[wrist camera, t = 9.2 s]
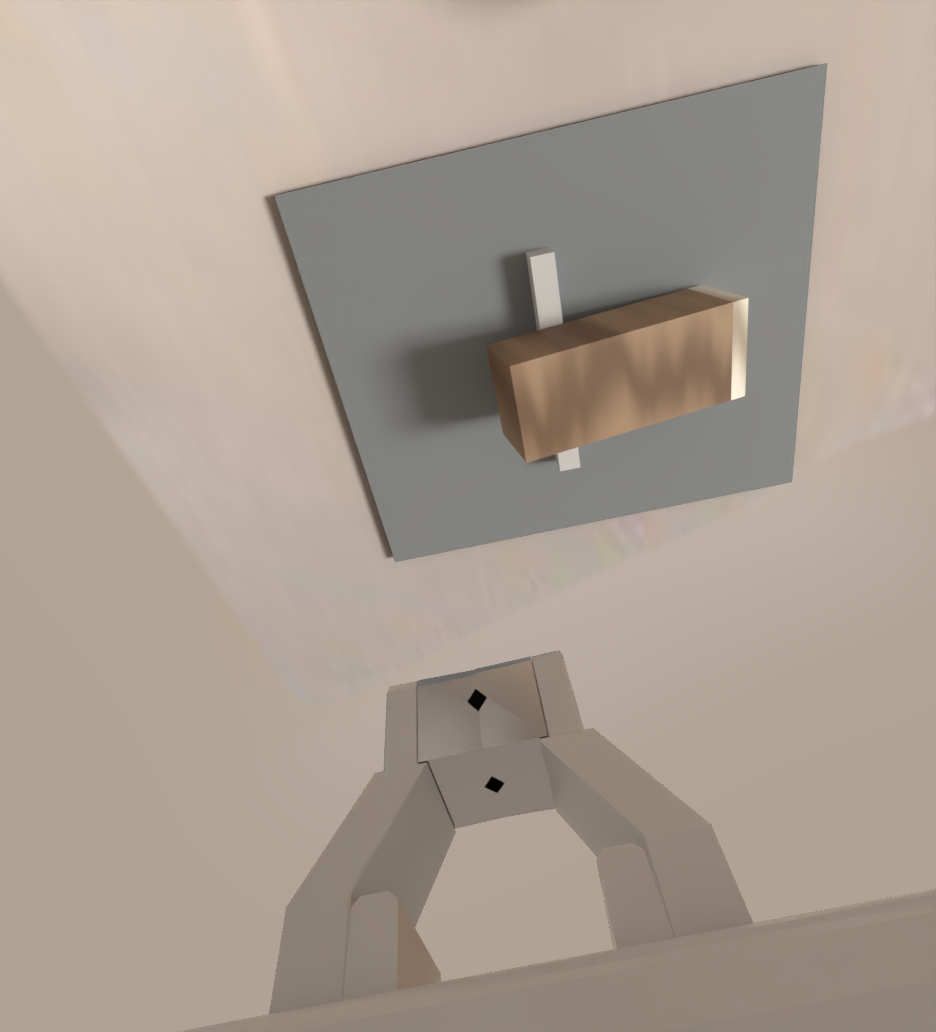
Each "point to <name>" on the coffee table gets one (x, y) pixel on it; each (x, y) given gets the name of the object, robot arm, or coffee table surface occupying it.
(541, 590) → the coffee table surface
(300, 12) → the coffee table surface
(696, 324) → the walnut block
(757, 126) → the slate mat
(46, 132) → the coffee table surface
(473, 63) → the coffee table surface
